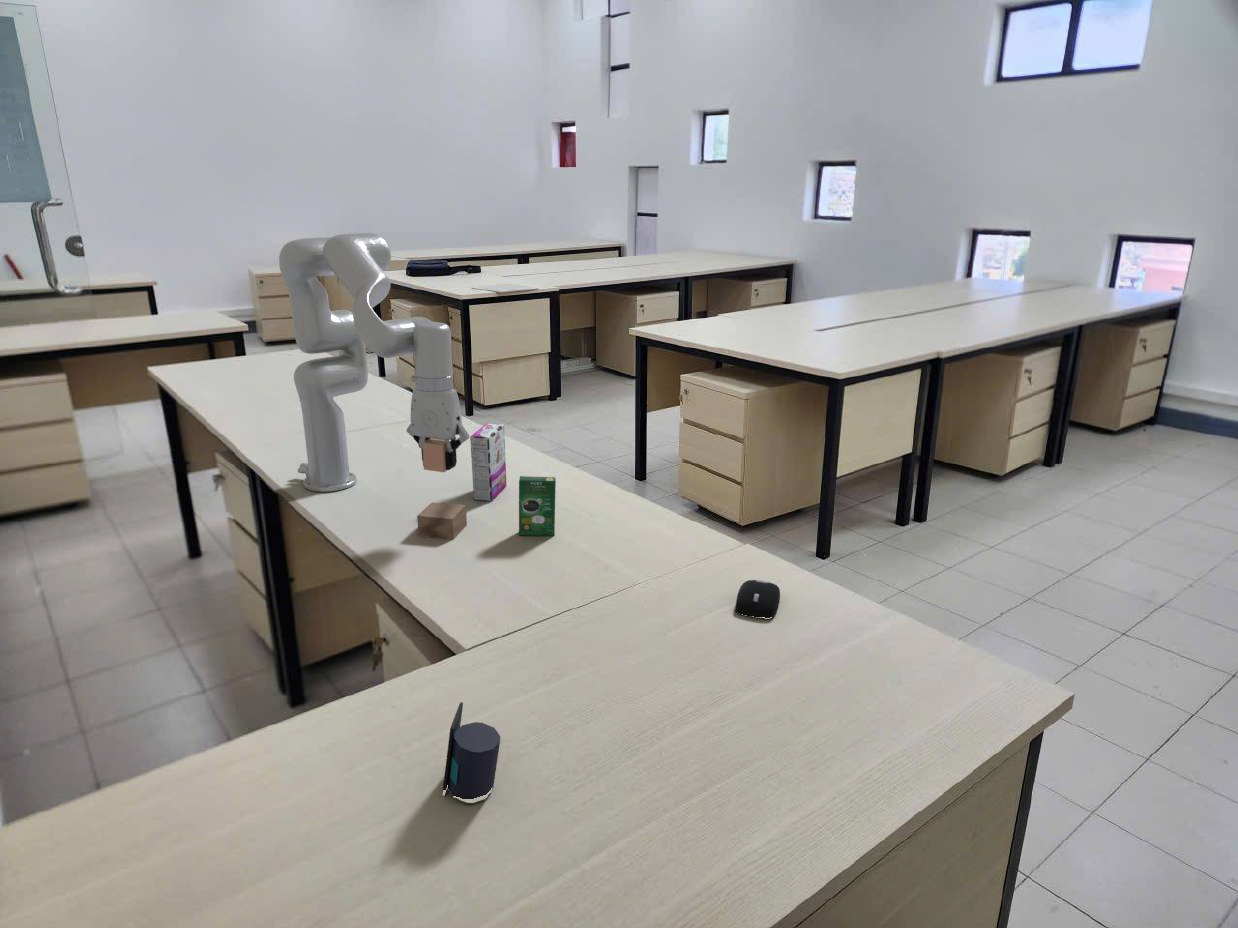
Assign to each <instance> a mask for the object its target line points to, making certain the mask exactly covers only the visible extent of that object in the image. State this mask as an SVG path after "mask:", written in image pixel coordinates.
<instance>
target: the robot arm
mask: <svg viewBox="0 0 1238 928" xmlns="http://www.w3.org/2000/svg"><path fill="white" fill-rule="evenodd" d="M391 254H392V253H391V249H390V247H389V245H388V243H387V241H386V240H385V239H384V238H383V237H382V236H381V235H378V234H377V233H373V232H361V233H343V234H342V233H340V234H337V235H334V236H331V237H308V238H307V237H306V238H297V239H294V240H291V241H288V242H286V243H285V244H283V246H282V248H281V249H280V252H279V256H278V260H279V261H278V264H279V272H280V274H281V277H282V280H283V282H284V285H285V287H286V290H287V294H288V298H289V305H290V310H291V317H292V324H293V325H292V326H293V332H294V337H295V343H296V346H297V347H298V349H299V351H301V352H302V353H305V354H309V355H313V354H322V353H323V354H324V353H329V352H330V353H331V352H337V351H338V355H334V356H325V357H320V358H315V359H314V358H313V359H310V360H307V361H303V362H302V363H300V364H299V365H298V366H297V367H296V368H295V370H294V373H293V379H294V380H293V382H294V385H295V389H296V392H297V395H298V396H297V397H298V398H299V403H300V408H301V412H302V413H301V414H302V423H303V431H304V438H305V440H304V441H305V448H306V449H305V450H306V458H307V459H306V460H307V462H301V463H300V464H299V467H298V468H297V473H298V474H305V478H304V480H303V487H304V488H305V489H307V490H309V491H312V492H320V493H321V492H322V493H325V492H328V493H329V492H336V491H342V490H345V489H348V488H350V487H352V486H354V485H355V484H356V483H357V482H358V481H357V476H356V474H354V473H353V472H350V466H349V463H350V462H349V456H348V455H349V453H348V442H347V441H348V440H347V433H346V422H345V415H344V412H343V410H342V409H341V407H340V406H339V405H338V404H337V403H336V401H335V400H334V398H335V397H338V396H342V395H343V396H344V395H347V394H352V393H357V392H359V391H361V390H364V388H365V387H366V386H367V383H368V379H369V370H368V369H369V368H368V361H367V350H366V346H367V347H368V348H369V350H370V351H371V352H372V353H374V354H375V355H376V356H378V357H381V358H383V359H384V358H385V359H391V358H396V357H402V356H408V355H414V366H415V367H414V369H415V370H414V371H415V374H414V375H411V377H410V378H411V382H412V383H415V387H416V388H413V390H412V395H411V400H410V424H409V425H408V427H407V428H406V432H407V433H408V435H410V436H411V437H412V438H413V440H414V441H415V442H416V443H417V444H418V447H419V449H421V451H420V453H421V461H422V467H424V463H423V447H422V442H424V441H426V440H428V439H430V438H434V439H442V440H444V441H445V445H446V448H447V452H445V461H446V470H447V471H449V470H451V469H454V468H455V467H456V466H457V459H458V458H457V450H458V449H459V447H460V446H461V445H462V444H463V443H464V442H466V441H467V440H468V439H470V436H471V435H469V433H468V431H467V430H466V428H465V427H464V426H463V421H462V420H463V417H462V410H461V409H462V408H461V404H460V399H459V395H458V392H457V389H456V388H454V369H453V367H454V366H453V350H452V349H453V347H452V332H451V327H450V326H449V325H448V324H447V323H444V322H438V321H432V320H430V319H429V318H427V317H424V316H412V317H411V316H410V317H401V318H396V319H388V320H382V319H381V318H380V317H379V316H378V314H377V313H376V312H375V311H374V309H373V308H374V307H376V306H377V305H379V304H380V303H381V302H382V301H383V300H384V299H385V298H386V297H387V295H388V294H389V292H390V291H391V280H390V277H388V275H387V274H386V273H385V272H384V271H385V270H386V269H388V267H389V265H390V264H391V261H392V255H391ZM324 276H325V277H330V276H336V277H337V278H338V280H339V281H340V282H341V284H342V285H343V286H344V288H345V289H346V290H347V291H348V293H349V294H350V295H351V297H352V298H353V299H354V300H353V303H352V309H351V311H350V310H348V309H336V310H331V308H330V302H329V301H330V300H329V295H328V292H327V290H326V288H325V286H324V285H323V284H322V282H321V281H320V280H319V279H318V278H317V277H324ZM457 436H459V437H458V438H457Z"/></svg>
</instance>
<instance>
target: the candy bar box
mask: <svg viewBox="0 0 1238 928" xmlns="http://www.w3.org/2000/svg"><path fill="white" fill-rule="evenodd" d="M469 436H470V437H469V439H470V453H471V455H470V457H471V469H472V470H471V472H472V473H471V474H472V489H473V500H474V501H480V502H481V501H482V502H493V501H494V500H495V499H496V498H497V497H498V496H499V494H501V492H502V491H503V490H504V489H505V488H506V487H507V470H506V469H507V467H506V443H505V424H503V423H502V424H500V423H492V422H491V423H489V422H488V423H485V424H484V425H483V426H481V427H480V428H479V429H477V430H476V431H475V432H474V433H473V434H471V435H469Z"/></svg>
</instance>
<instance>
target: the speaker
mask: <svg viewBox="0 0 1238 928" xmlns="http://www.w3.org/2000/svg"><path fill="white" fill-rule="evenodd" d="M463 706H464V702H461V701H460V702H459V704H458V707H457V709H456V712H455V715H454V717H453V721H452V722H451V726H450V728H449V735H448V743H447V744H448V745H447V752H446V758H445V759H446V760H445V768H444V777H443V784H442V791H443V790H446V788H447V785H448V789H449V790H448V789H447V790H448V792H449V791H450V792H451V793H450V792H449V793H450V795H451V794H452V795H451V796H456V797H460V798H462V799H474V798H477V797H480V796H483V795H486V794H487V793H488V792H489V791H490V790H491V788H492V787H493V788H494V785H495V778H496V777H495V776H496V772H497V764H498V759H499V752H500V744H501V735H500V733H499V732H498V730H496V728H495V727H494V726H491V725H489V724H486V723H484V722H480V721H479V722H478V721H477V722H476V721H474V722H469V723H466V724H461V722H462V715H463Z"/></svg>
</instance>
